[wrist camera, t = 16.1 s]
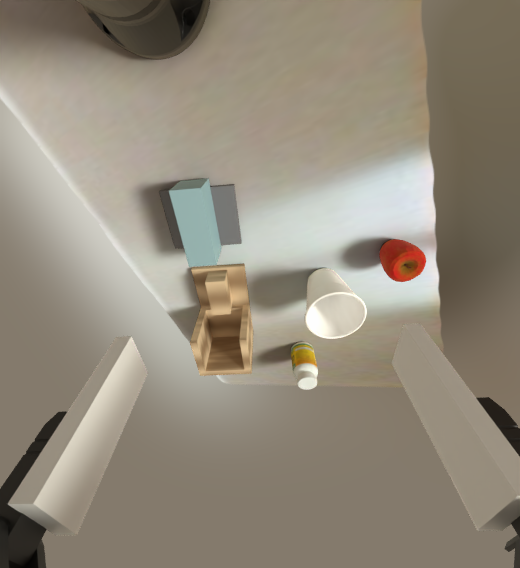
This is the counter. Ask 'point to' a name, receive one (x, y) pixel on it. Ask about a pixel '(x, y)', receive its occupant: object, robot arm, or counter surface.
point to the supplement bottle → (304, 365)
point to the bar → (196, 221)
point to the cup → (332, 306)
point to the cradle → (222, 321)
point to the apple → (401, 260)
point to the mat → (223, 211)
